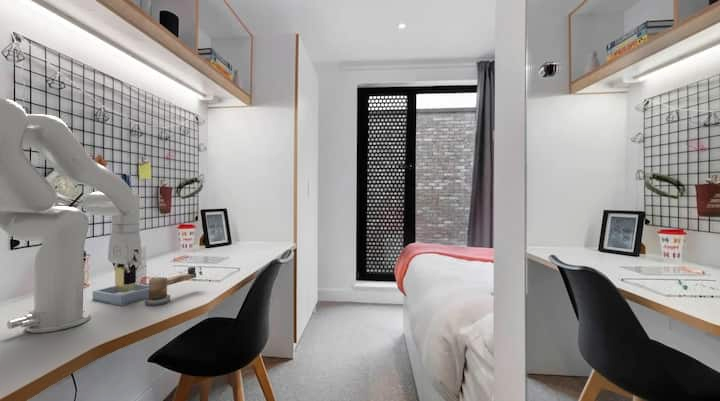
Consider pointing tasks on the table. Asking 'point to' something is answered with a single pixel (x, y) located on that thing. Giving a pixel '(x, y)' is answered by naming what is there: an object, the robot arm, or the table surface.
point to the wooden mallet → (167, 283)
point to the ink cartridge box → (141, 268)
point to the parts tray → (121, 295)
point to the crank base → (157, 301)
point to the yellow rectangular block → (122, 280)
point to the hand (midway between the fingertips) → (125, 282)
